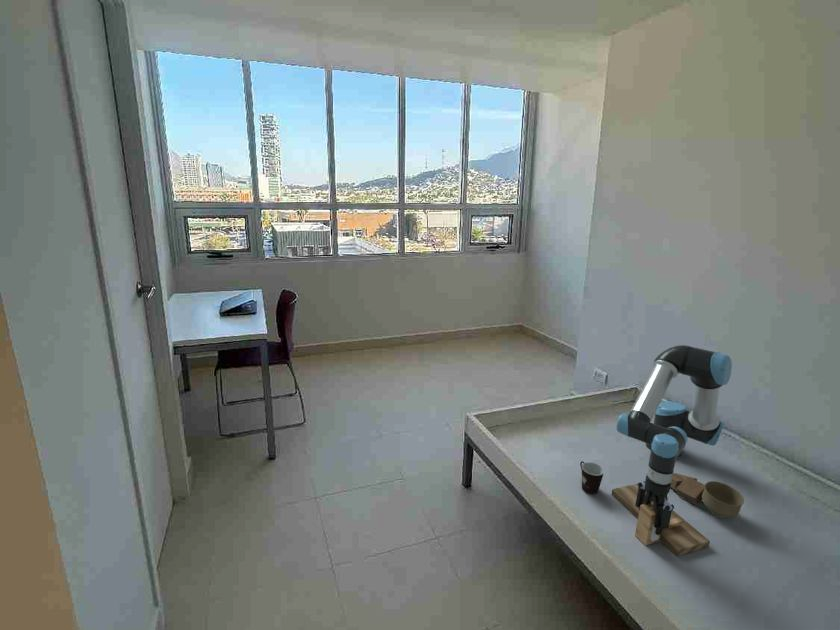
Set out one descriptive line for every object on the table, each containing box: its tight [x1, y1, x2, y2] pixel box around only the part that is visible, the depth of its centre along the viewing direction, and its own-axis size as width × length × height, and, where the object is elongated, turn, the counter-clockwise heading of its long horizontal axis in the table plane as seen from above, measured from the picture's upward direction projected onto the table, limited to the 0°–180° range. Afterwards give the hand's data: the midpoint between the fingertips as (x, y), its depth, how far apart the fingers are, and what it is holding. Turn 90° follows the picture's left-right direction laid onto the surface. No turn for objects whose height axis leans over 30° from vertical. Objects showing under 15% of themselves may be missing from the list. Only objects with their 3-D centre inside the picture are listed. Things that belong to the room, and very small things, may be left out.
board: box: [611, 482, 711, 557], centre depth 163 cm, size 14×32×2 cm, turn 17°
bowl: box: [702, 480, 745, 518], centre depth 165 cm, size 13×13×10 cm
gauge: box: [634, 502, 683, 546], centre depth 154 cm, size 18×5×14 cm, turn 107°
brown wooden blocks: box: [670, 472, 705, 506], centre depth 178 cm, size 8×13×18 cm
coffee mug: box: [579, 460, 605, 495], centre depth 179 cm, size 12×9×10 cm
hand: (647, 533), depth 153 cm, fingers closed on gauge, 5 cm apart
